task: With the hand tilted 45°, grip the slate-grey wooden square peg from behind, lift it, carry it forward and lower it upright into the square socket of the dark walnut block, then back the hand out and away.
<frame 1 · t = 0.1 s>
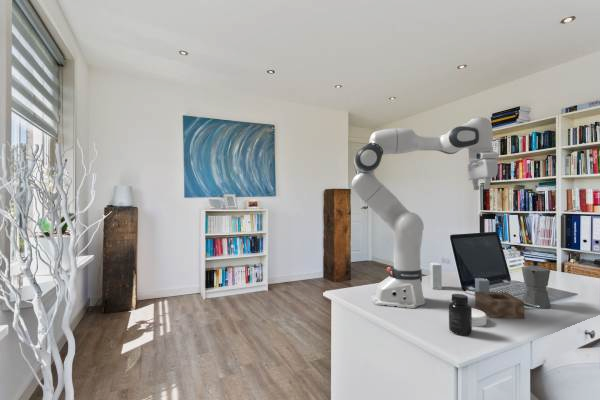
hand: (481, 189, 128), 48 cm above the table, tool pointing down, fingers open, 8 cm apart
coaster: (470, 322, 110), on the table
socket block: (498, 312, 118), on the table
square peg: (482, 300, 132), on the table
supplement bottle: (460, 332, 101), on the table
skincare box: (435, 288, 152), on the table
coffeepot: (536, 304, 126), on the table
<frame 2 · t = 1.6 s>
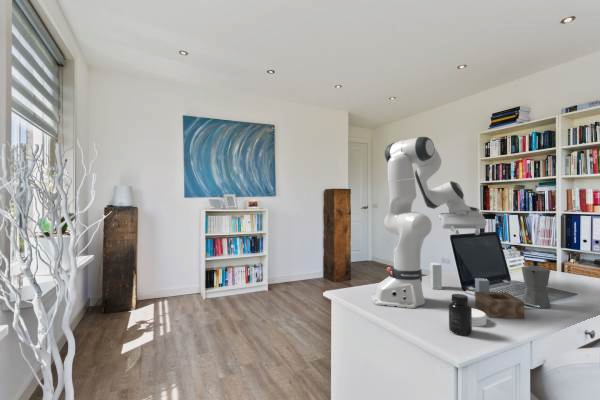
hand: (467, 234, 147), 27 cm above the table, tool tilted 45°, fingers open, 8 cm apart
nothing on the table moved.
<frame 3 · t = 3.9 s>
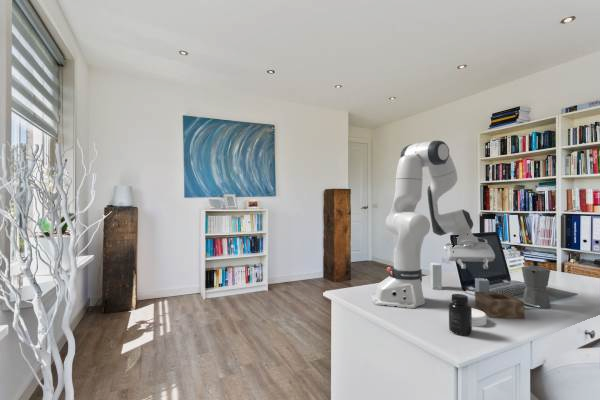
hand: (475, 268, 139), 12 cm above the table, tool tilted 45°, fingers open, 8 cm apart
nothing on the table moved.
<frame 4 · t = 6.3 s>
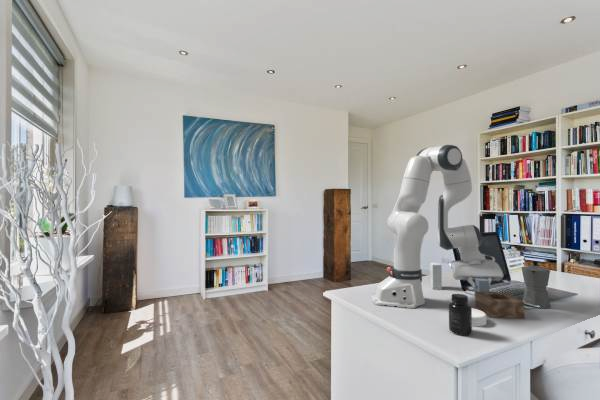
hand: (482, 287, 132), 5 cm above the table, tool tilted 45°, fingers closed on square peg, 4 cm apart
square peg: (482, 300, 132), on the table, touching gripper
everything else where it was.
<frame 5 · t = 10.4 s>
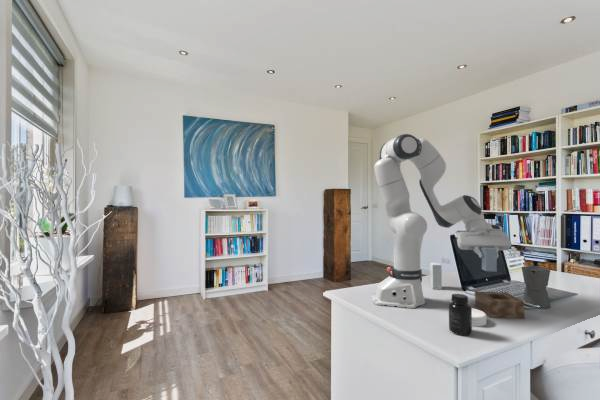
hand: (489, 257, 125), 20 cm above the table, tool tilted 45°, fingers closed on square peg, 4 cm apart
square peg: (489, 270, 125), point 15 cm above the table, touching gripper
everything else where it was.
when the fingers open (8 cm above the table, at t = 14.4 s): square peg drops 2 cm, resting on socket block.
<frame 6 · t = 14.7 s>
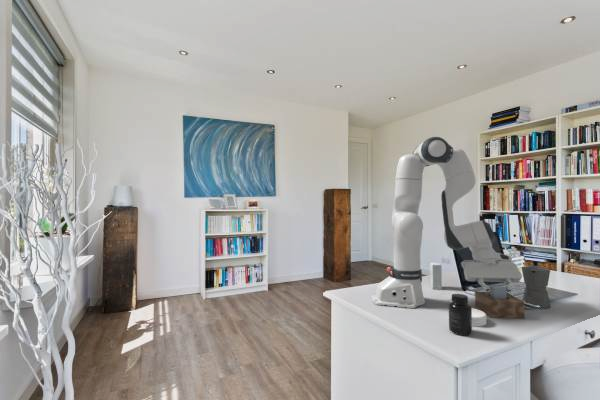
hand: (498, 290, 118), 8 cm above the table, tool tilted 45°, fingers open, 6 cm apart
square peg: (498, 309, 118), point 1 cm above the table, touching socket block
everything else where it was.
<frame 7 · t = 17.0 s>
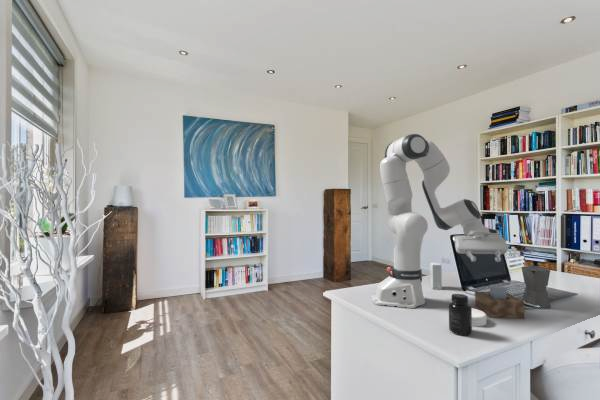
hand: (486, 260, 127), 18 cm above the table, tool tilted 45°, fingers open, 8 cm apart
nothing on the table moved.
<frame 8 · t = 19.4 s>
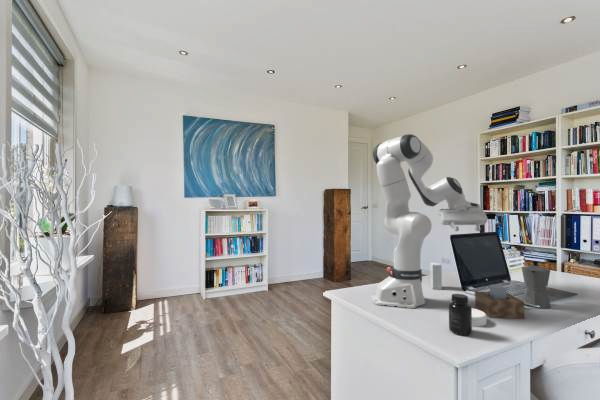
hand: (467, 230, 142), 29 cm above the table, tool tilted 45°, fingers open, 8 cm apart
nothing on the table moved.
at the end: square peg 0.1 cm off-centre on the socket block, point 1.0 cm above the socket block's base; square peg tilted 0°; the gripper is holding nothing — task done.
